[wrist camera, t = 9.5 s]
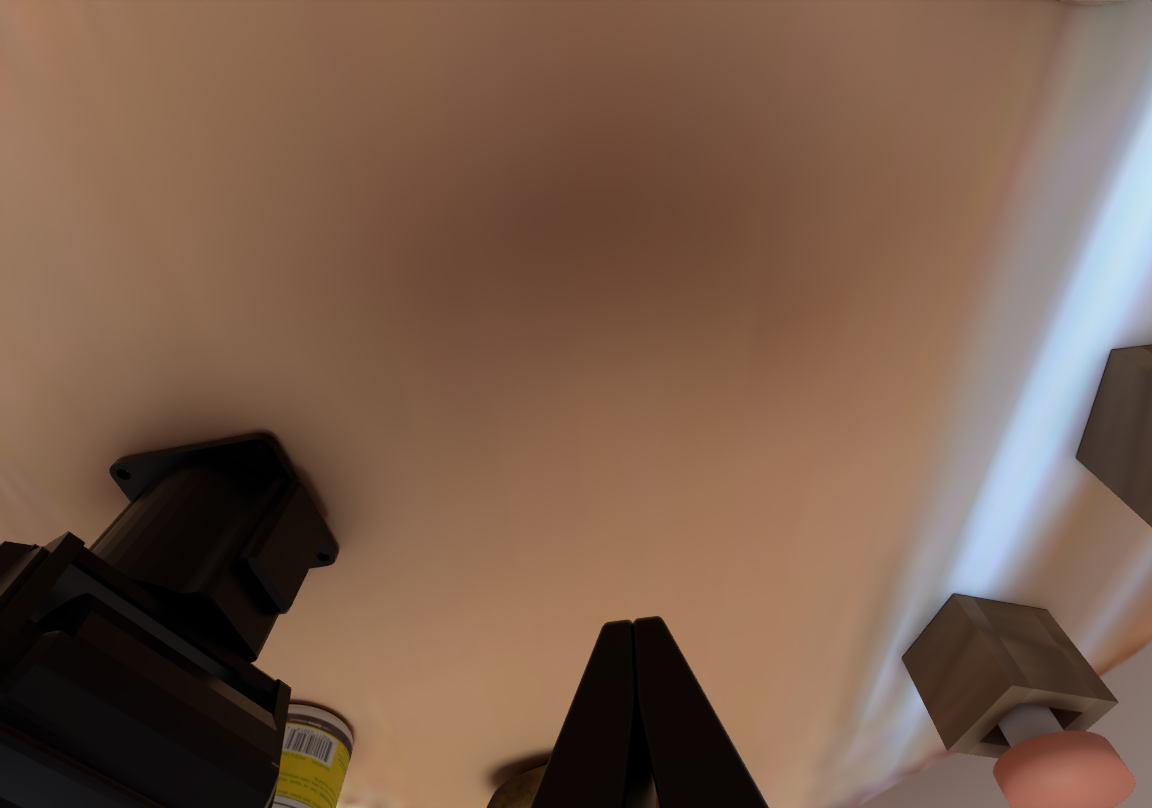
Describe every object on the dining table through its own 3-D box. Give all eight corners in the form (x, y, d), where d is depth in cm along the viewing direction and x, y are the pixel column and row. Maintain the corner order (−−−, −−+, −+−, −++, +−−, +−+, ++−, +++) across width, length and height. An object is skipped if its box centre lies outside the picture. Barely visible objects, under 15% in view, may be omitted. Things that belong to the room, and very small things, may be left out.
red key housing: (901, 658, 30) (947, 751, 26) (953, 593, 28) (1012, 685, 24) (988, 672, 31) (1045, 765, 27) (1047, 610, 28) (1118, 702, 24)
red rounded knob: (924, 690, 28) (988, 816, 24) (976, 631, 26) (1057, 757, 22) (1008, 703, 29) (1085, 828, 24) (1066, 646, 27) (1162, 772, 22)
